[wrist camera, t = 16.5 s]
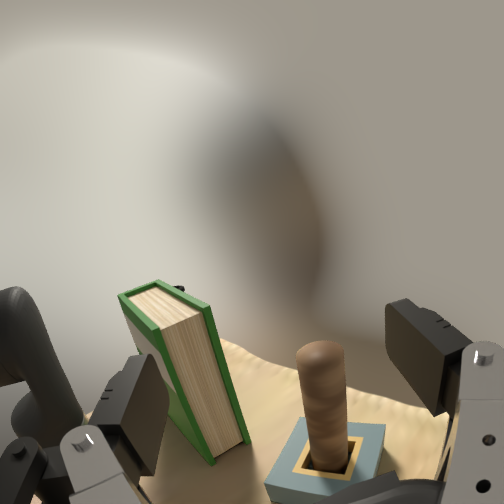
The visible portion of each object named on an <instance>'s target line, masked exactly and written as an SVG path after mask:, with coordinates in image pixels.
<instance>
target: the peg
mask: <svg viewBox="0 0 504 504" xmlns="http://www.w3.org/2000/svg"><path fill="white" fill-rule="evenodd" d="M296 362H297V368H298V374H299V380H300V386H301V392H302V399H303V405H304V411H305V418H306V424H307V431H308V438H309V444H310V451H311V458H312V465H313V470H314V471H321V472H328V473H335V474H343V475H345V473H346V470H347V467H348V430H347V400H346V379H345V364H344V350H343V348H342V346H341V345H340V344H338V343H335V342H333V341H316V342H312V343H309V344H307V345H305V346H303V347H302V348H300V349H299V350H298V352H297V354H296Z"/></svg>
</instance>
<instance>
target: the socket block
mask: <svg viewBox="0 0 504 504" xmlns="http://www.w3.org/2000/svg"><path fill="white" fill-rule="evenodd" d="M385 428H386V424H367V423H352V422H347V430H348V467H347V470H346V473H345V475H343V474H335V473H328V472H321V471H314V470H313V465H312V458H311V451H310V444H309V438H308V431H307V424H306V418H305V417H300V418H299V420H298V422H297V424H296V426H295V428H294V430H293V432H292V434H291V435H290V437H289V439H288V441H287V443H286V445H285V447H284V448H283V450H282V452H281V454H280V456H279V457H278V459H277V461H276V463H275V464H274V466H273V468H272V470H271V471H270V473H269V475H268V477H267V478H266V480H265V482H264V485H265V487H266V490H267V493H268V495H269V498H270V500H271V501H273V502H277V503H281V504H313V503H316V502H318V501H320V500H322V499H324V498H326V497H328V496H331V495H333V494H335V493H337V492H339V491H341V490H343V489H345V488H346V487H348V486H350V485H352V484H356V483H359V482H362V481H365V480H368V479H371V478H374V477H376V474H377V471H378V467H379V463H380V459H381V455H382V451H383V446H384V437H385Z"/></svg>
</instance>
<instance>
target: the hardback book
mask: <svg viewBox="0 0 504 504" xmlns="http://www.w3.org/2000/svg"><path fill="white" fill-rule="evenodd" d="M118 299H119V302H120V304H121V307H122V310H123V313H124V316H125V318H126V321H127V324H128V326H129V329H130V332H131V334H132V337H133V340H134V342H135V345H136V347H137V350H138V352H139V355H143V354H152V355H153V357H154V358H155V361H156V363H157V366H158V368H159V370H160V373H161V375H162V378H163V380H164V382H165V385H166V387H167V389H168V393H169V399H170V405H169V410H168V416H169V417H170V418H171V420H172V421H173V422H174V423H175V425H176V426H177V427H178V428H179V430H180V431H181V432H182V433H183V434H184V436H185V437H186V438H187V439H188V440H189V442H190V443H191V444H192V445H193V446H194V448H195V449H196V450H197V451H198V452H199V453H200V454H201V456H202V457H203V458H204V459H205V460H206V461H207V462H208V463H209V465H210V466H213V465H215V464H217V463H216V461H215V459H214V458H215V457H217V456H218V455H220V454H222V453H223V452H225V451H227V450H228V449H230V448H232V447H233V446H235V445H237V444H238V443H240V442H244V443H245V444H246V445H248V444H249V443H251V439H250V436H249V433H248V430H247V427H246V424H245V421H244V418H243V415H242V412H241V409H240V405H239V402H238V399H237V396H236V393H235V390H234V386H233V383H232V380H231V377H230V373H229V370H228V367H227V363H226V360H225V357H224V353H223V350H222V346H221V343H220V339H219V336H218V332H217V329H216V325H215V322H214V318H213V315H212V311H211V307H210V305H209V304H207V303H205V302H202V301H200V300H198V299H196V298H194V297H192V296H190V295H188V294H186V293H184V292H182V291H180V290H179V289H177V288H175V287H173V286H171V285H169V284H167V283H165V282H163V281H161V280H159V279H158V280H156V281H153V282H151V283H148V284H145V285H142V286H140V287H137V288H134V289H132V290H129V291H126V292H124V293H121V294H119V295H118Z"/></svg>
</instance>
